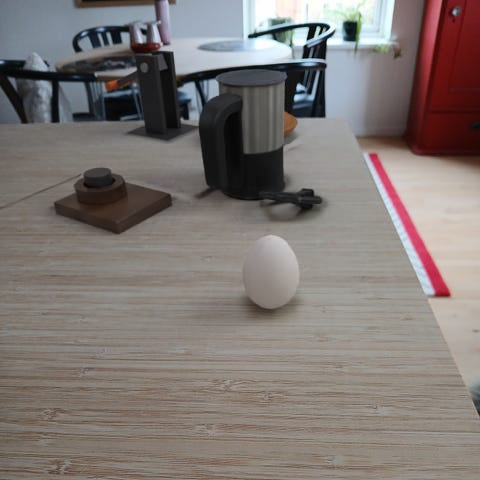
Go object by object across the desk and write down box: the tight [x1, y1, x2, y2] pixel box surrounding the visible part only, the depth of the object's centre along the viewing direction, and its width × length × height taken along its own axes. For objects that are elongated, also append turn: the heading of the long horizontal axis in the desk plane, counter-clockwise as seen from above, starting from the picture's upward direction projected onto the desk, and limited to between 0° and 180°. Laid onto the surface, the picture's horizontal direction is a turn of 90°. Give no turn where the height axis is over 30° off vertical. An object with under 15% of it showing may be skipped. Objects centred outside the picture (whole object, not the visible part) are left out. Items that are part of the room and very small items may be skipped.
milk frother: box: [198, 68, 323, 210], centre depth 66 cm, size 14×16×15 cm
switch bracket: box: [127, 49, 199, 142], centre depth 91 cm, size 10×9×14 cm
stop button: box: [83, 166, 113, 188], centre depth 68 cm, size 4×4×2 cm
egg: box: [242, 234, 300, 310], centre depth 48 cm, size 5×5×7 cm
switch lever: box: [104, 54, 167, 92], centre depth 91 cm, size 13×5×2 cm, turn 55°
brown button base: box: [53, 172, 173, 235], centre depth 68 cm, size 12×10×4 cm
